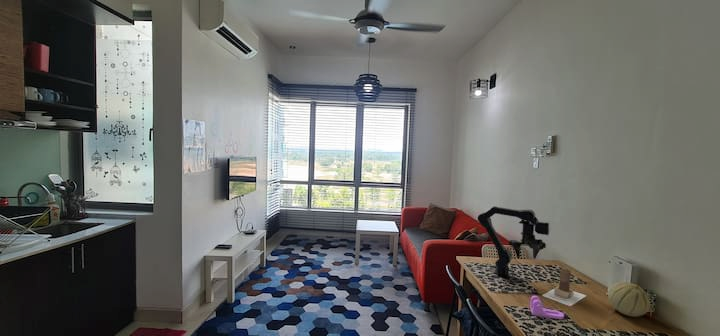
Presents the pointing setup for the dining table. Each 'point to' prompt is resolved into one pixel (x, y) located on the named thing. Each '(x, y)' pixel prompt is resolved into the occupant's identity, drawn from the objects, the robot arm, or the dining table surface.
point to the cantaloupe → (629, 299)
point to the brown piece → (564, 285)
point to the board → (569, 302)
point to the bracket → (538, 309)
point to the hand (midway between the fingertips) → (526, 258)
